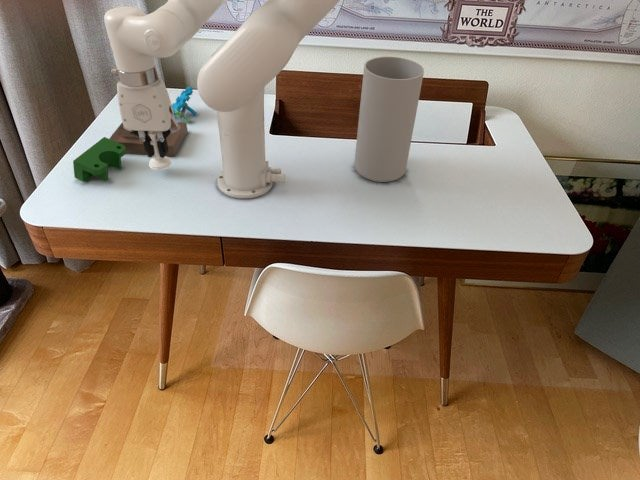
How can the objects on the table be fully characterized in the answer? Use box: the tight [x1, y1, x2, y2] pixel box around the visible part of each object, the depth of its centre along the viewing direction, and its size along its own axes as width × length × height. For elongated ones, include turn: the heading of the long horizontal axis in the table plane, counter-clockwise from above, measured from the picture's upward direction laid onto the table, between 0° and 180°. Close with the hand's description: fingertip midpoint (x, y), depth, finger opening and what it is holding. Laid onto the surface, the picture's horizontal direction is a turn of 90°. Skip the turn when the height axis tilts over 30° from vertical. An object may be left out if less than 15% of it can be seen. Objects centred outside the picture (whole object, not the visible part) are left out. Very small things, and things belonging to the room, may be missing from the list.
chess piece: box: [148, 131, 172, 171], centre depth 109 cm, size 5×5×10 cm
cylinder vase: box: [353, 56, 425, 183], centre depth 110 cm, size 12×12×25 cm
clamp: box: [72, 136, 126, 183], centre depth 111 cm, size 12×6×9 cm
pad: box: [108, 121, 189, 158], centre depth 123 cm, size 16×13×3 cm
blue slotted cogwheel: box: [171, 86, 197, 123], centre depth 133 cm, size 11×6×10 cm
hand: (158, 154), depth 110 cm, fingers closed on chess piece
